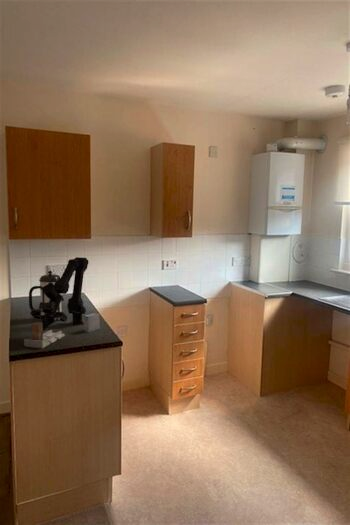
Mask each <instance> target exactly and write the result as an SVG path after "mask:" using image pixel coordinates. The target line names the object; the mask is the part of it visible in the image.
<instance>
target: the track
mask: <svg viewBox="0 0 350 525" xmlns="http://www.w3.org/2000/svg"><path fill="white" fill-rule="evenodd" d="M63 337H65V333H63V331H62V330H59V331H57V332H53V329H49V330H47V331H45V332H43V340H42V341H40V340H31V339H32V338H31V339H30V338H24V339H23V346H24V347H27V348H37V349H44V348H45V347H47V346H49V345H50V344H52V343H54V342H56V341H57V340H60V339H61V338H63Z"/></svg>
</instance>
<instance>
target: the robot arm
mask: <svg viewBox="0 0 350 525" xmlns="http://www.w3.org/2000/svg"><path fill="white" fill-rule="evenodd" d="M88 265H89V260H88V258H87V257H75V258H71V259H69V260H68V261H67V265H66V267H65V269H64V271H63V273H62V274H61V276H60V279H59V280H57V281H56V282H55V284H54V285H53V283H49V284H47V285H45V286H44V287H43V289H42V291H43V293H44V294H45V295H46V296H47V298H49V299H50V300H49V302H47V303H44V302H41V301H39V304H38V305H39V306H38V309H42V311H43V312H40V311H39V310H30V313H29V314H30V316H31V317H32V318H33V319H35V320H41V323H42V326H43V332H44V331H46V329H47V328H49V327H50V326H51V325H53V324H54V323H56V322H57V318H59V319H60V320H59V321H60V322H63V323H65V322H67V321H68V316H67V314H66V313H65V312H63V311H62V312H57V310H59V309H60V308H59V305H60V303H61V304H62V302H65V299H64V296H63V295H66V294H67V293H68V292H69V289H70V281H71V279H72V277H73V276H74V280H73V286H72V288H73V289H72V295H71V297H70V298H68V300H67V301H68V302H67V307H66V308H67V311H68V314H69V315H71V314H72V315H71V318H72V319H71V320H72V321H70V323H71V324H72V326H77V325H84V320H83V315H85V314H86V310H87V309H86V307H85V306H84V301H83V298H82V292H83V282H84V274H85V272H86V271H87V269H88Z"/></svg>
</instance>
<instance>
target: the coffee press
mask: <svg viewBox="0 0 350 525" xmlns="http://www.w3.org/2000/svg"><path fill="white" fill-rule="evenodd" d="M60 278H61V276H60V275H58V274H53V271H52V270H49V271H48V272H47V274H44V275H41V276H40V277H39V280H38V281H39V285H33V286H32V287H31V288H30V289H29V292H28V306H29V309H30V311H32V310H39V311H40V312H43V311H42V309H39V308H38V309H37V308H34V307H33V291H34V290H37V289H39V292H40V293H39V294H40V302H44V303H47V302H49V300H50V299H49V298H47V296H46V295H45V294H44V293H43V291H42V289H43V287H44V286H45V285H47V284H49V283H53V285H54V284H55V282H56V281H57V280H59V279H60ZM59 308H60V309H59V310H57V312H63V311H62V302H61V303H60V305H59ZM56 320H58V321H61V320H60V318H56Z"/></svg>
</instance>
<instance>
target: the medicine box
mask: <svg viewBox="0 0 350 525" xmlns="http://www.w3.org/2000/svg"><path fill="white" fill-rule="evenodd" d="M100 316H101V314H99V313H96V312H94V313H90V314H86V315H85V314H84V315H83V322H84V324H83V331H84V332H87V333H90V332H93V331H97V330H100V329H101V324H100V323H101V321H100V320H101V318H100Z"/></svg>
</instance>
